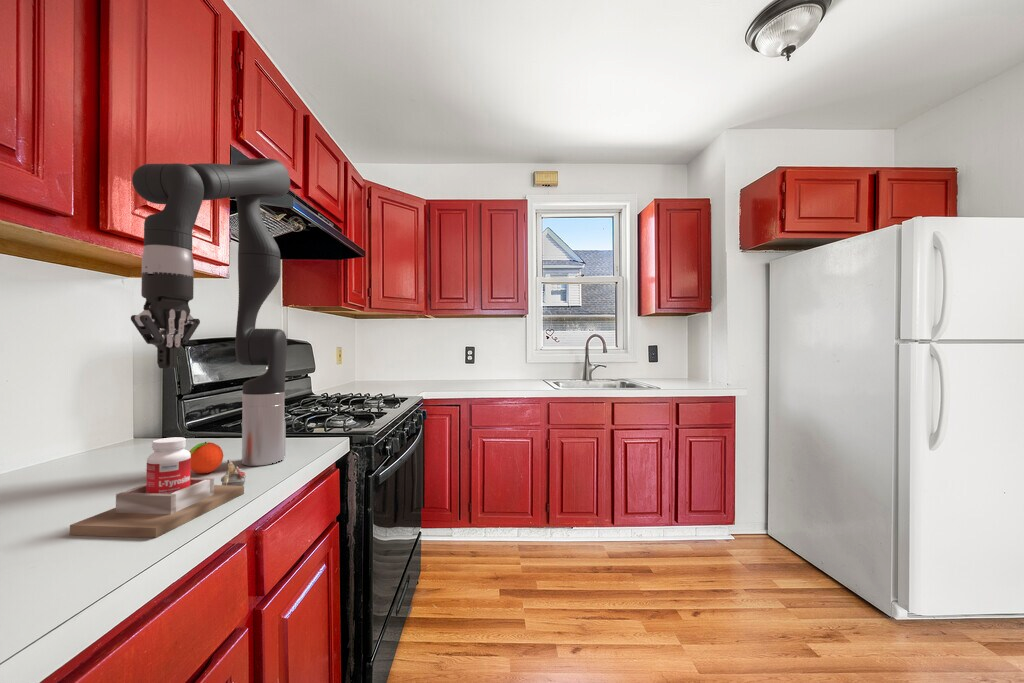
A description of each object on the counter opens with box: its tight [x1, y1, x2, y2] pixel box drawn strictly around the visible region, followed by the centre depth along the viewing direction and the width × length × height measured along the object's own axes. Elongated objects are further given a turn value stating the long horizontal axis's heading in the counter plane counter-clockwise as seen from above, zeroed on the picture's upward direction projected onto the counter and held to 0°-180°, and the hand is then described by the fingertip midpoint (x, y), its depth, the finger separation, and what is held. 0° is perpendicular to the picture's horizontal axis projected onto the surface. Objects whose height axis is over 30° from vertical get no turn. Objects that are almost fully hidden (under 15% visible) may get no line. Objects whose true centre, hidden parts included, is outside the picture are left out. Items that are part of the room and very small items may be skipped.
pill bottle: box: [145, 436, 192, 494], centre depth 78 cm, size 6×6×11 cm
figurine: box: [220, 459, 247, 486], centre depth 91 cm, size 5×4×6 cm
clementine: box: [188, 441, 224, 475], centre depth 100 cm, size 8×7×7 cm
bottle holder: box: [69, 477, 245, 539], centre depth 77 cm, size 20×14×4 cm
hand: (167, 368), depth 81 cm, fingers closed
